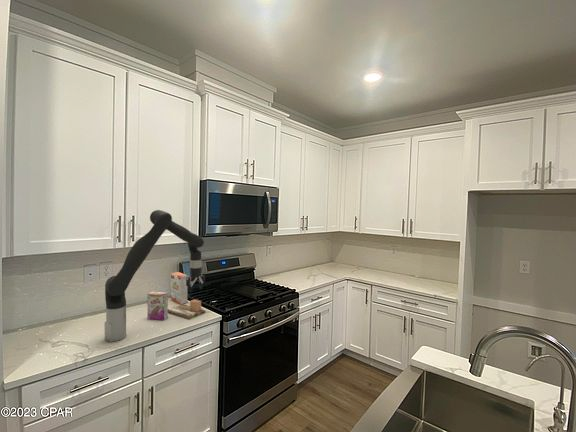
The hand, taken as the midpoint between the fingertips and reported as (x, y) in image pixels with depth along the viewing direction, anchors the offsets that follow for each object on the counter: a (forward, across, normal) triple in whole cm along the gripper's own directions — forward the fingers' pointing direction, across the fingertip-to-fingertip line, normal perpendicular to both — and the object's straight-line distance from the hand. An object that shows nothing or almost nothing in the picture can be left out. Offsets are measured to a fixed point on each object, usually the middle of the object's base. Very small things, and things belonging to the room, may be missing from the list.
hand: (195, 290), depth 192 cm
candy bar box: (+15, -20, +12) cm, 28 cm away
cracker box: (+15, +8, +26) cm, 31 cm away
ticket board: (+15, -4, +5) cm, 16 cm away
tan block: (+13, 0, 0) cm, 13 cm away
